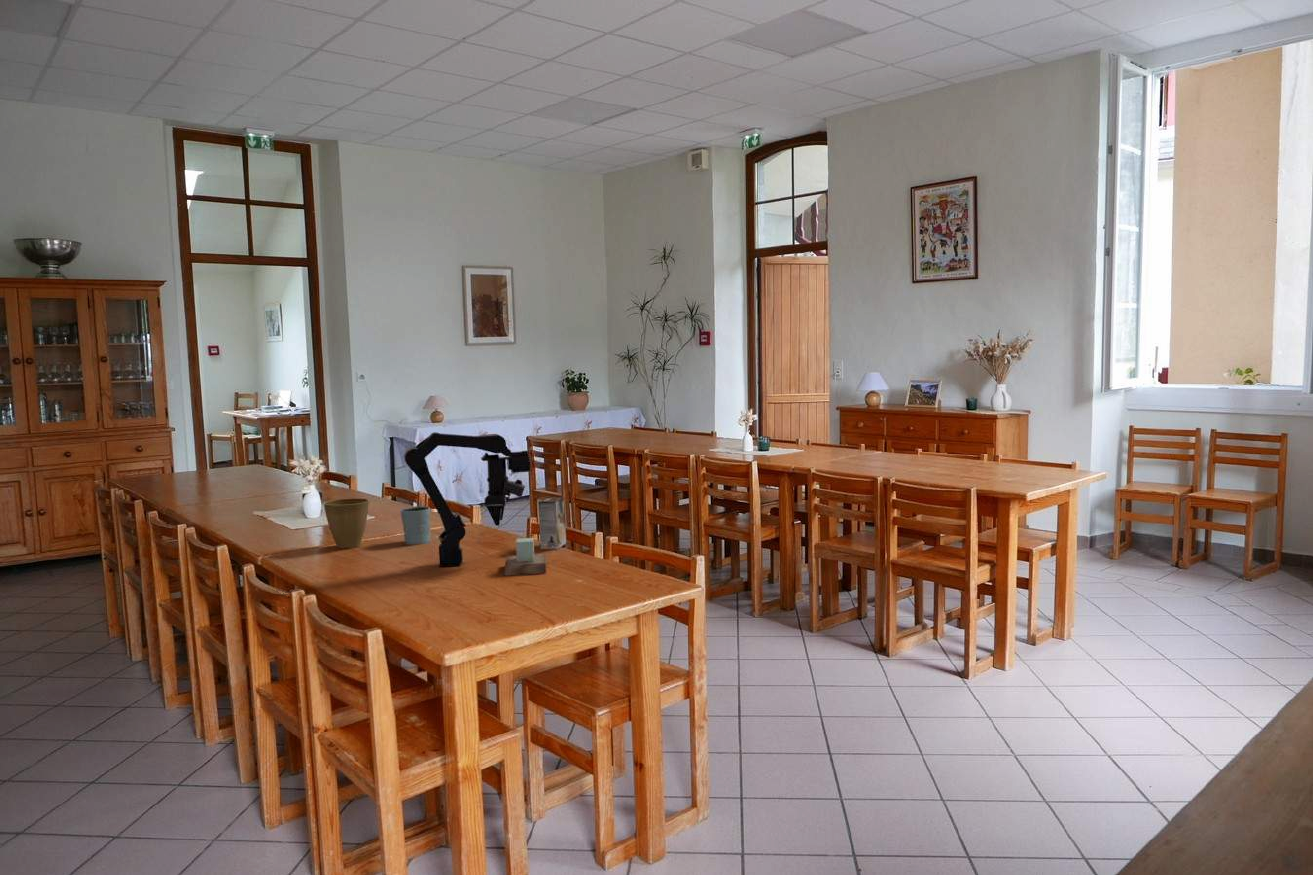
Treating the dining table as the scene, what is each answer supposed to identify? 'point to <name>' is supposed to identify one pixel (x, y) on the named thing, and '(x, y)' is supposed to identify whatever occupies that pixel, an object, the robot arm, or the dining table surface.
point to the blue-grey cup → (416, 525)
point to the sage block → (525, 549)
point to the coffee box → (552, 522)
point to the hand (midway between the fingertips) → (499, 522)
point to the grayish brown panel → (525, 565)
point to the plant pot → (347, 520)
